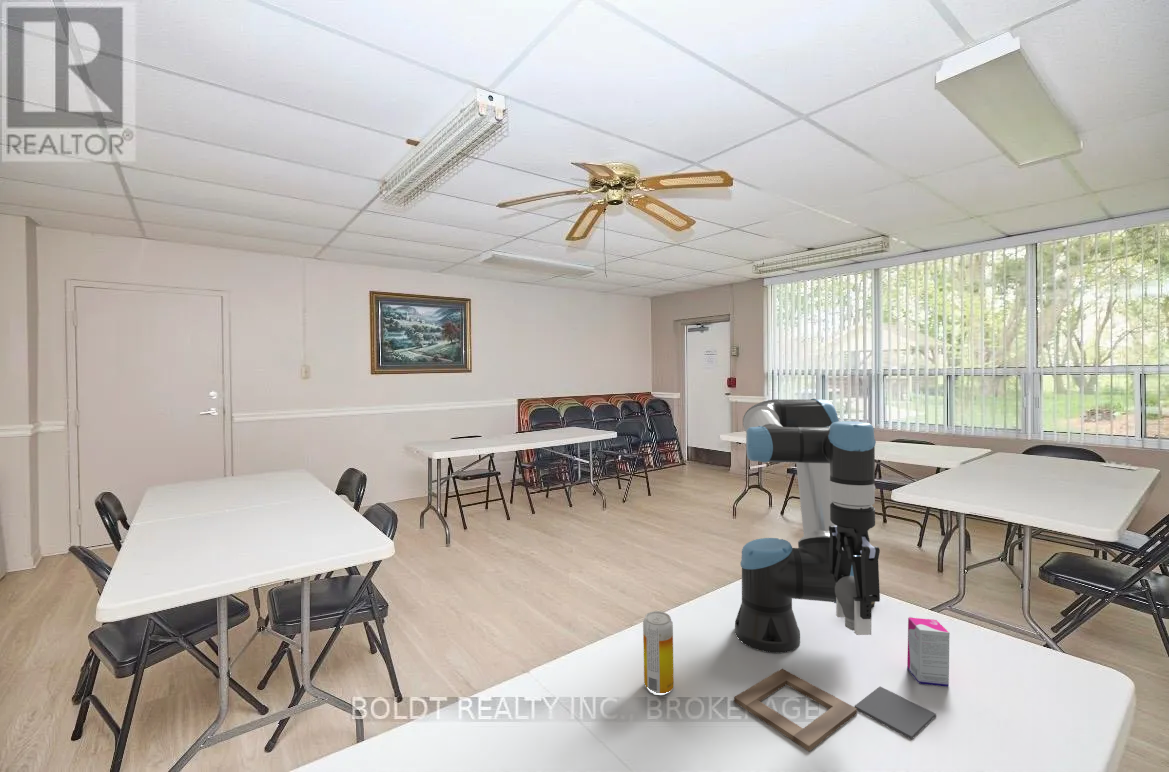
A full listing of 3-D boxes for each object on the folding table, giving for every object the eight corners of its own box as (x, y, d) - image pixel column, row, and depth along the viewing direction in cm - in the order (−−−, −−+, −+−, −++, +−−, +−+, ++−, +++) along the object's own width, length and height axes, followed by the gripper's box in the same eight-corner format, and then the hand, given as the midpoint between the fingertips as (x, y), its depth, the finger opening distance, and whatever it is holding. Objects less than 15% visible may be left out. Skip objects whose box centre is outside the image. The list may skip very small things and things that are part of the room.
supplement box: (950, 687, 102) (950, 632, 102) (918, 684, 104) (918, 630, 103) (936, 670, 108) (936, 618, 108) (906, 668, 109) (906, 616, 109)
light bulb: (878, 633, 93) (877, 580, 93) (855, 640, 91) (855, 585, 91) (849, 619, 99) (849, 569, 99) (828, 625, 97) (827, 574, 96)
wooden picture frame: (733, 701, 99) (733, 696, 99) (782, 672, 108) (782, 668, 108) (809, 751, 86) (809, 745, 86) (857, 713, 95) (857, 708, 95)
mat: (854, 708, 97) (854, 705, 97) (879, 689, 102) (879, 686, 102) (911, 739, 88) (911, 736, 88) (935, 716, 94) (935, 713, 94)
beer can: (676, 683, 106) (675, 613, 105) (669, 700, 100) (668, 627, 100) (649, 676, 108) (648, 608, 108) (640, 693, 103) (639, 621, 102)
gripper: (903, 517, 85) (904, 651, 86) (845, 491, 104) (846, 601, 104) (859, 518, 85) (860, 652, 86) (809, 492, 104) (811, 602, 104)
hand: (853, 624), depth 95 cm, fingers closed on light bulb, 6 cm apart
